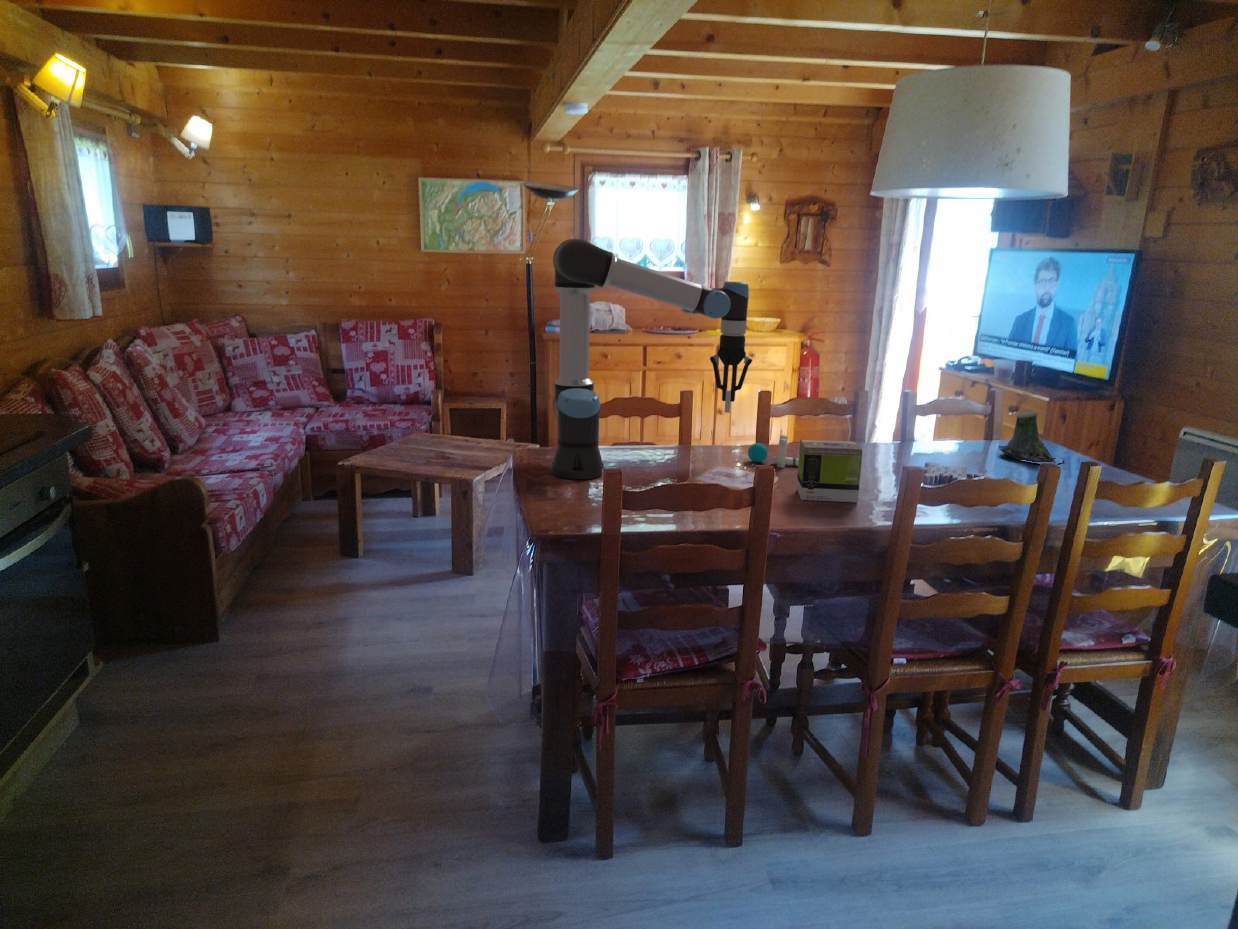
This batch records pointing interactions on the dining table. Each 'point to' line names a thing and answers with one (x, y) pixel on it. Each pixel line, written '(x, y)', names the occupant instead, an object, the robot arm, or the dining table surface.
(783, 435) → the pin
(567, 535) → the dining table surface
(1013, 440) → the tree stump
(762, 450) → the ball
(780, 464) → the pin
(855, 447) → the tea box
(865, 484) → the dining table surface
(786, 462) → the front pin
